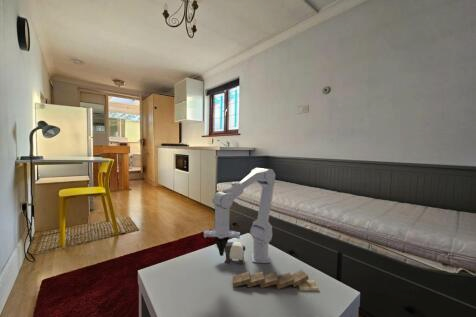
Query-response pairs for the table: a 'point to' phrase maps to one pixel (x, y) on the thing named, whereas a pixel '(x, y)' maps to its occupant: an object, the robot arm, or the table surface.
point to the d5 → (299, 278)
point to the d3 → (269, 280)
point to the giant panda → (234, 252)
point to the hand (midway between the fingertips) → (221, 254)
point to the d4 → (284, 280)
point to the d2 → (256, 279)
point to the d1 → (241, 279)
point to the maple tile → (308, 285)
